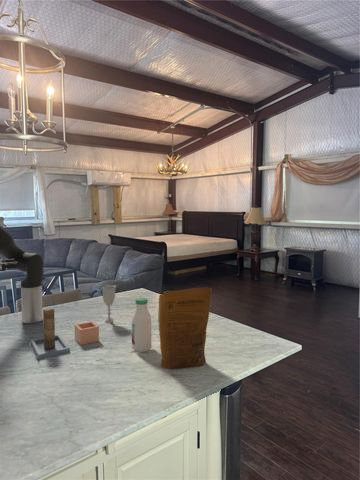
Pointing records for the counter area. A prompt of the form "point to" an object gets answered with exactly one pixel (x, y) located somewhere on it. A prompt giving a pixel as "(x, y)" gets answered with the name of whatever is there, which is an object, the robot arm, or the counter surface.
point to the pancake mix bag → (183, 327)
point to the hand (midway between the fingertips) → (17, 263)
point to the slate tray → (42, 353)
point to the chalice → (108, 299)
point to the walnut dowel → (49, 328)
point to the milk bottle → (141, 327)
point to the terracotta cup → (86, 332)
